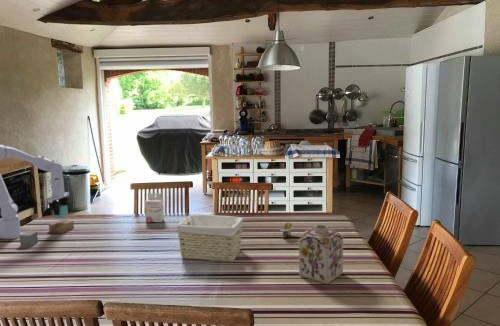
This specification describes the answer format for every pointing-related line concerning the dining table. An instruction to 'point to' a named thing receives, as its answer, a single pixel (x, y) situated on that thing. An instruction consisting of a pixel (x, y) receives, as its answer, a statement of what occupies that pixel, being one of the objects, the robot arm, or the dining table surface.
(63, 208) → the teal cube
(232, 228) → the storage basket
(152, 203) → the ink cartridge box
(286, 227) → the small potted plant
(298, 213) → the dining table surface
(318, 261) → the decorative jar
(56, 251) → the dining table surface
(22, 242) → the gray cube
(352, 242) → the dining table surface
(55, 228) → the base block
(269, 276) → the dining table surface
